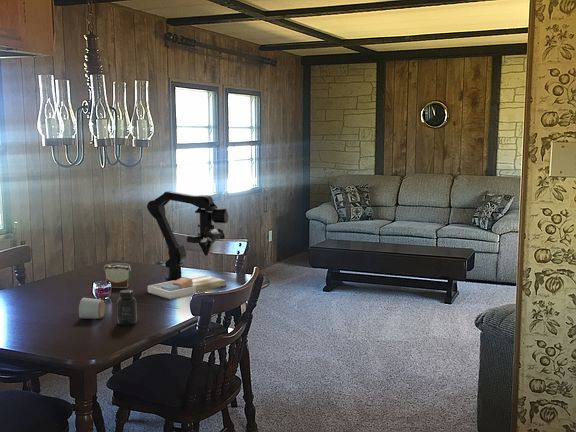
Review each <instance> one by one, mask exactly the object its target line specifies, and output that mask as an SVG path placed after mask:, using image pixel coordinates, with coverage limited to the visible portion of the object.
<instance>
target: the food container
mask: <svg viewBox="0 0 576 432" xmlns="http://www.w3.org/2000/svg"><path fill="white" fill-rule="evenodd" d="M103 270H104V273H105V280H106V283H107V282H111V284H112V287H111V288H117V289H119V288H120V289H128V288H129V282H130V271H132V268H131V265H130V264H129V263H126V262H125V263H123V262H119V263H118V262H116V263H108V264H105V265H104V267H103Z"/></svg>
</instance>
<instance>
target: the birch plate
mask: <svg viewBox="0 0 576 432" xmlns="http://www.w3.org/2000/svg"><path fill="white" fill-rule="evenodd" d="M191 279H192V282H193V284H192V285H190V286H188V287H193V286H196V293H199V292H198V291H201V292H204V291H208V290H213V288H214V289H218V288H222V287H221V286H223V287H226V286H227V280H226V279H223V278H218V277H214V276H210V275H201V276H197V277H194V278H192V277H191ZM225 285H226V286H225ZM188 287H186V288H188ZM217 287H218V288H217Z"/></svg>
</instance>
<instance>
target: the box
mask: <svg viewBox="0 0 576 432" xmlns="http://www.w3.org/2000/svg"><path fill="white" fill-rule="evenodd" d="M174 281H175V280H169V281H165V282H160V283H155V284H149V285H147V293H148V294H151V295H155V296H159V297H162V298H165V299H167V300H174V299H177V298H181V297H185V296H190V295H195V294H197V292H196V286H193V287H188V288H184V289H179V290H174V291H167V290H164V289H161V286H164V285H169V284H173V282H174ZM194 293H195V294H194Z"/></svg>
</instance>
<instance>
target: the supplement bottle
mask: <svg viewBox="0 0 576 432" xmlns="http://www.w3.org/2000/svg"><path fill="white" fill-rule="evenodd" d="M116 304H117V307H116V308H117V323H118V325H121V326H131V325H132V326H133V325H135V324H137V322H138V314H137V313H138V311H137V299H136V298H135V297H134V290H133V289H122V290H120V291H119V298H118V299H117V301H116Z"/></svg>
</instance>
